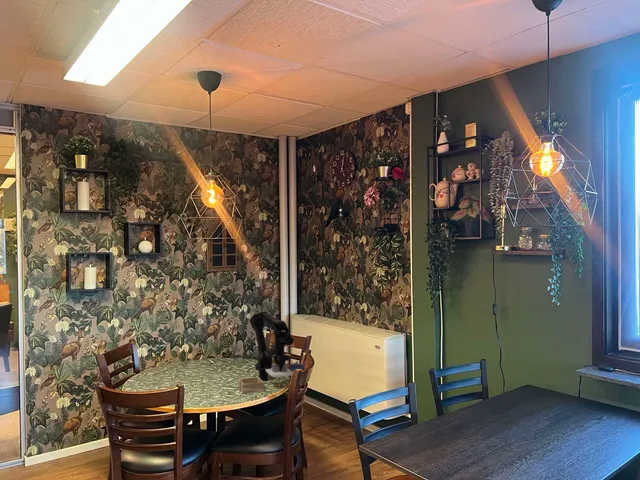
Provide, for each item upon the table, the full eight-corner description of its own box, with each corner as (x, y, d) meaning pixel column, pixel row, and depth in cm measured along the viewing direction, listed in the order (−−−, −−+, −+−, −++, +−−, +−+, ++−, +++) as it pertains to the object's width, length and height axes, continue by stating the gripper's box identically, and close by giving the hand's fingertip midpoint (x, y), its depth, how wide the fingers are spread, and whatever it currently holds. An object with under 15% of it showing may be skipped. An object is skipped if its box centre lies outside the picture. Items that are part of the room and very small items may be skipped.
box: (238, 387, 274) (238, 379, 275) (258, 385, 279) (258, 376, 279) (243, 393, 263) (243, 384, 263) (264, 391, 268) (264, 382, 268)
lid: (265, 372, 281) (265, 363, 281) (286, 370, 286) (286, 361, 286) (271, 378, 269) (271, 368, 269) (293, 376, 274) (293, 366, 274)
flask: (304, 377, 296) (304, 360, 296) (304, 378, 293) (304, 361, 293) (289, 377, 296) (289, 360, 296) (289, 378, 293) (289, 361, 293)
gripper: (261, 341, 283) (261, 367, 283) (270, 347, 266) (270, 375, 266) (279, 339, 288) (279, 365, 288) (289, 345, 270) (289, 373, 270)
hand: (279, 369), depth 278 cm, fingers closed on lid, 4 cm apart
